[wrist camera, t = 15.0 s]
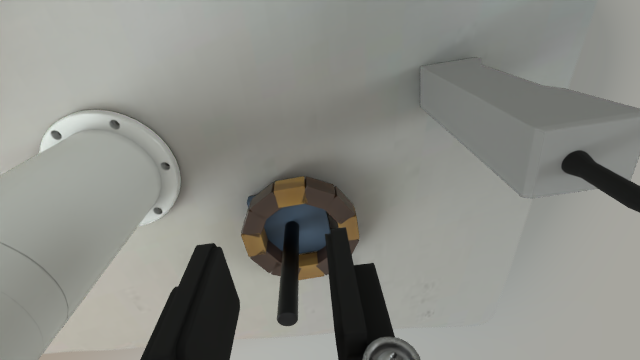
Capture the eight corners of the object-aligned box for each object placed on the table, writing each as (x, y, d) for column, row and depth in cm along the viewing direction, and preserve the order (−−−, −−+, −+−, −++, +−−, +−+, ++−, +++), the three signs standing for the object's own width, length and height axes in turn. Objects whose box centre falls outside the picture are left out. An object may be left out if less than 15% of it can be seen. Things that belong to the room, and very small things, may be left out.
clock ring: (261, 273, 38) (259, 286, 36) (231, 188, 32) (227, 198, 31) (361, 257, 38) (364, 269, 36) (348, 168, 32) (351, 177, 30)
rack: (266, 252, 38) (250, 357, 27) (248, 196, 34) (220, 291, 23) (332, 241, 38) (344, 344, 26) (321, 184, 34) (330, 274, 23)
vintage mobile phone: (471, 97, 30) (911, 345, 8) (419, 106, 30) (714, 370, 8) (475, 56, 28) (1049, 233, 7) (419, 65, 29) (796, 267, 7)
